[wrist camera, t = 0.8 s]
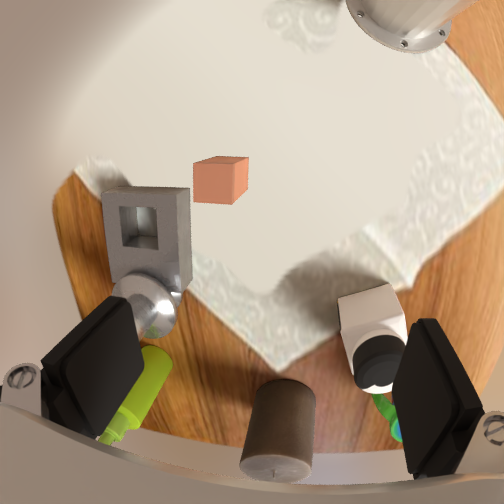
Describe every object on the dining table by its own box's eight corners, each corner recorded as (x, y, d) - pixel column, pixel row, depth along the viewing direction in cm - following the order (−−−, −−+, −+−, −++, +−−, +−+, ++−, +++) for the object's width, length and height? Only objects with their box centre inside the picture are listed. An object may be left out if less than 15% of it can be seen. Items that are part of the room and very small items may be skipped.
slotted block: (118, 186, 37) (-20, 247, 17) (189, 188, 35) (59, 263, 15) (133, 310, 44) (46, 412, 24) (195, 321, 42) (123, 447, 22)
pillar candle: (255, 376, 45) (233, 458, 31) (320, 381, 43) (315, 466, 29) (256, 414, 48) (238, 487, 35) (313, 418, 47) (307, 494, 33)
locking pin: (216, 156, 34) (193, 163, 27) (248, 157, 33) (232, 164, 26) (216, 187, 35) (193, 202, 28) (247, 189, 34) (231, 204, 28)
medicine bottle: (336, 297, 37) (342, 362, 26) (390, 281, 35) (416, 341, 24) (348, 340, 39) (355, 407, 29) (398, 326, 37) (419, 390, 26)
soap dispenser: (169, 380, 49) (119, 473, 30) (135, 357, 48) (75, 444, 30) (184, 364, 46) (131, 465, 28) (148, 339, 46) (82, 432, 27)
